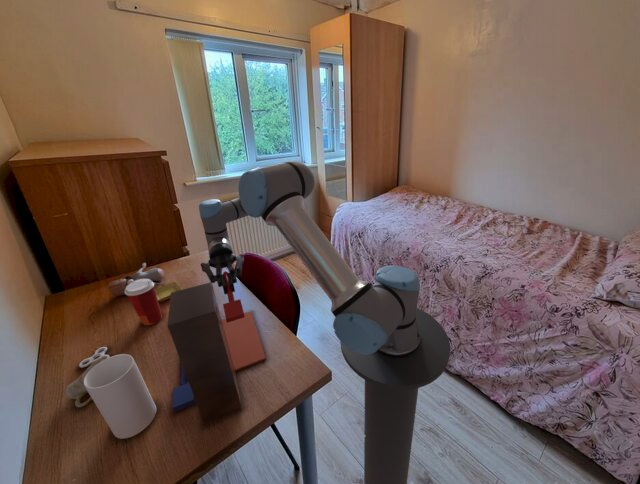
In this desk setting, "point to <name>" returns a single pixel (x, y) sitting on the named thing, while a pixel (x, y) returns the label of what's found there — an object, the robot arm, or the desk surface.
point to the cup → (121, 395)
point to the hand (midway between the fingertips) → (228, 288)
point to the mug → (80, 386)
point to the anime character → (120, 285)
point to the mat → (243, 341)
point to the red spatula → (232, 303)
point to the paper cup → (144, 300)
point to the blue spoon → (182, 394)
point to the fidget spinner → (94, 357)
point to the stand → (204, 351)
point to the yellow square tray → (167, 291)
